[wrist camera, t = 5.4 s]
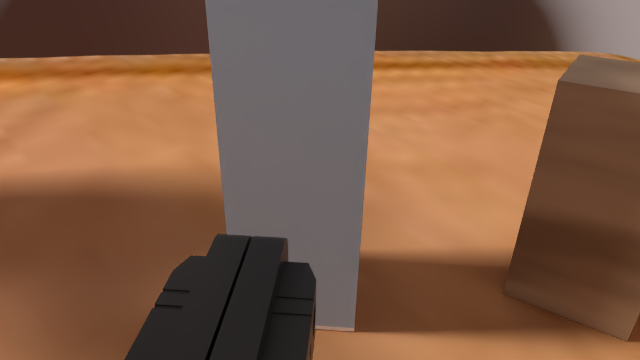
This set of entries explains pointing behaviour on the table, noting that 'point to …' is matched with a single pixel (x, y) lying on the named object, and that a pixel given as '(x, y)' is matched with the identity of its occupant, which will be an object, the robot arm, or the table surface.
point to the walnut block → (585, 202)
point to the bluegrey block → (297, 132)
